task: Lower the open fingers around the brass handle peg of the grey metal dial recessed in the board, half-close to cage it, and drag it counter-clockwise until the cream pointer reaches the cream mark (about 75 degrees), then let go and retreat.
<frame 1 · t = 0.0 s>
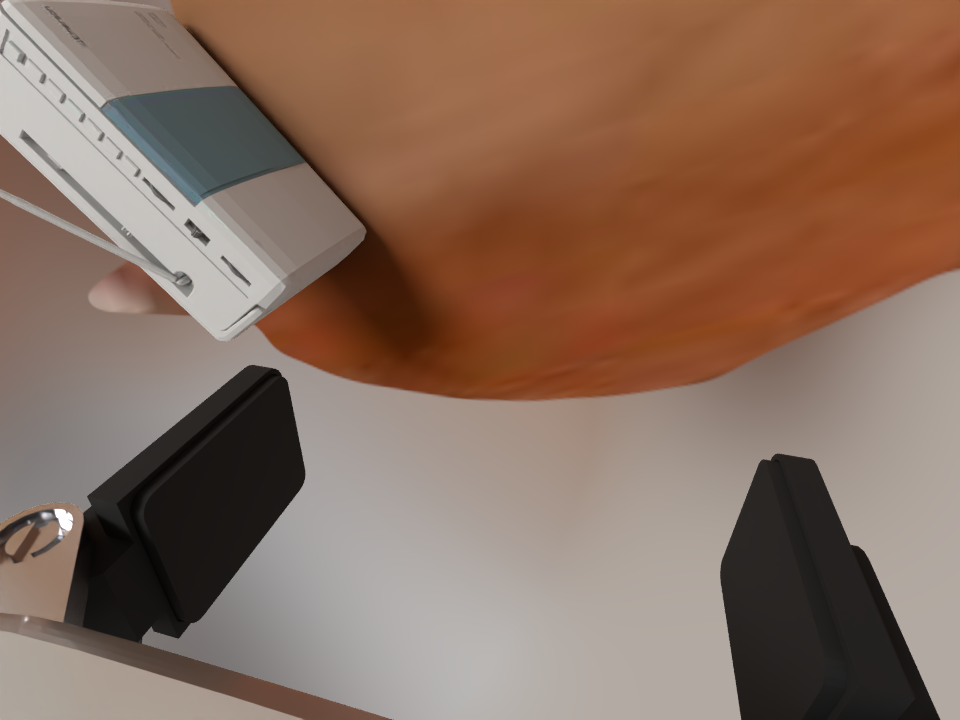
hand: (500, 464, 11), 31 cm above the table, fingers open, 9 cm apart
stereo radio cassette player: (259, 155, 43), on the table
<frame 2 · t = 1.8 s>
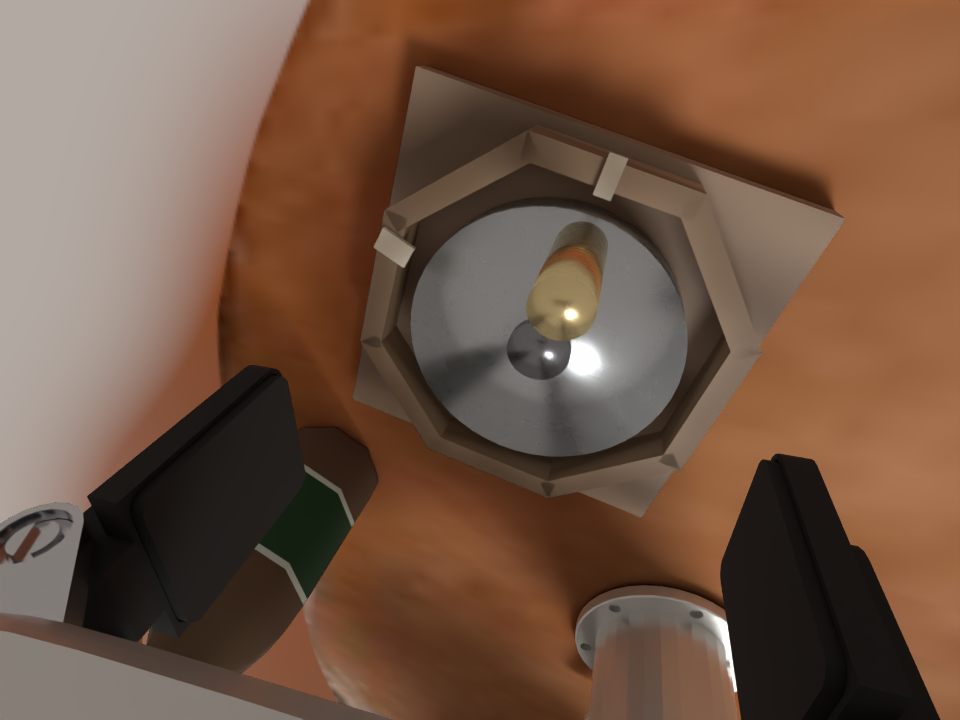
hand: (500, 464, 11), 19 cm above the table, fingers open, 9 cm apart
beer bottle: (335, 461, 41), on the table
dial housing: (550, 316, 30), on the table
dial: (531, 371, 25), point 6 cm above the table, hinge at 0.0°
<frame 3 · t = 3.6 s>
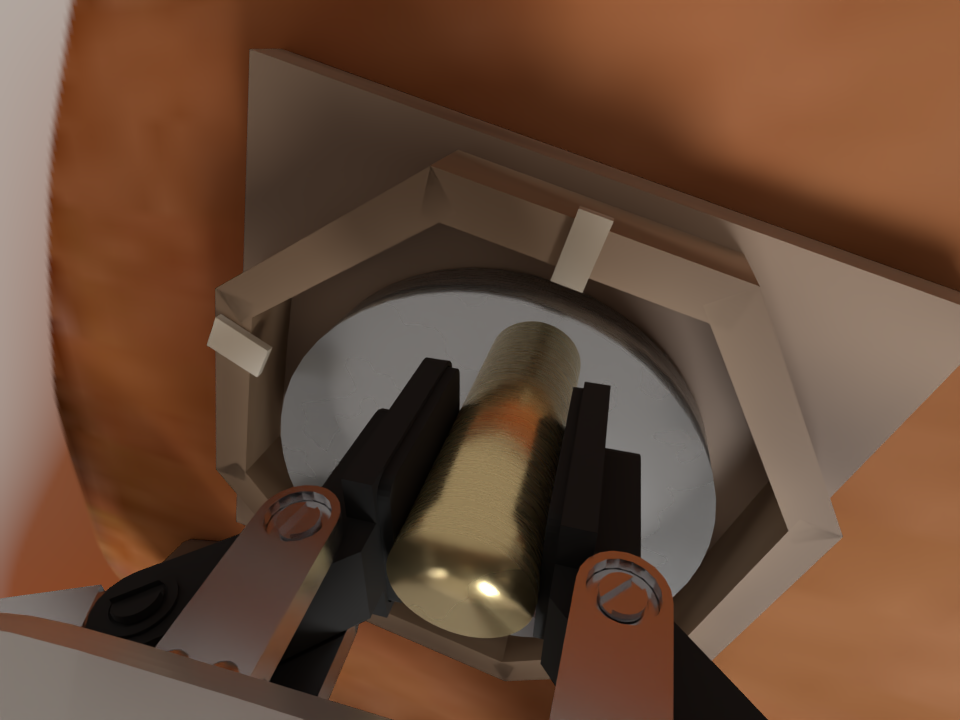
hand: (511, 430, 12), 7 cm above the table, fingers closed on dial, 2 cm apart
beer bottle: (236, 578, 31), on the table
dial housing: (503, 428, 20), on the table
dial: (456, 560, 15), point 6 cm above the table, hinge at 0.0°, touching gripper
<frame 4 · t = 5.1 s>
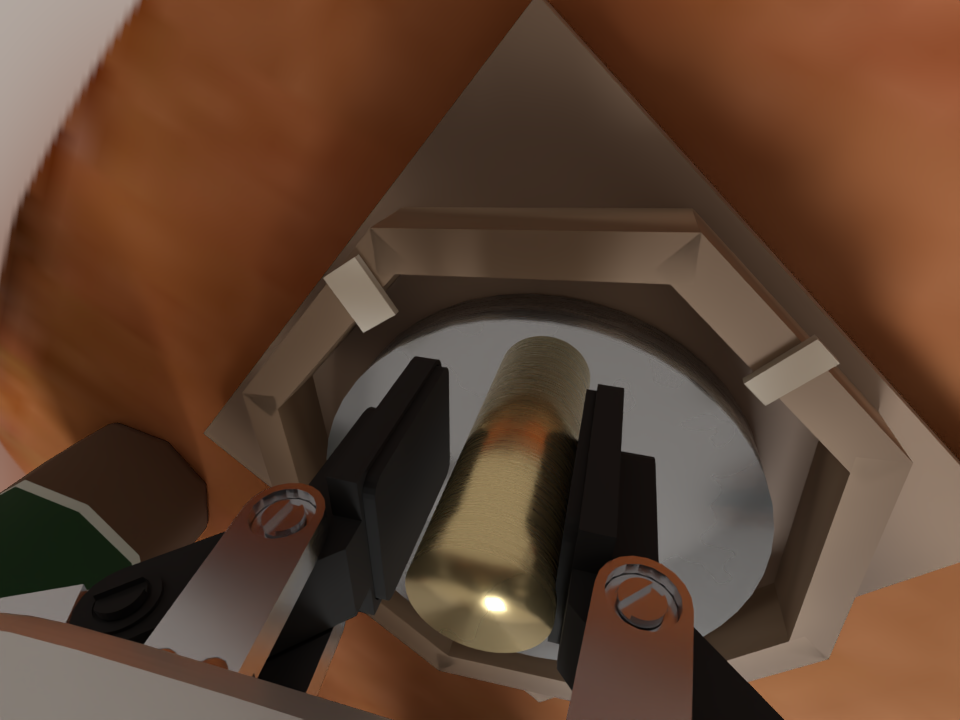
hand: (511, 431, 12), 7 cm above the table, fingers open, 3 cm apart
beer bottle: (152, 477, 28), on the table
dial housing: (544, 450, 20), on the table
dial: (511, 588, 15), point 6 cm above the table, hinge at 39.6°, touching gripper
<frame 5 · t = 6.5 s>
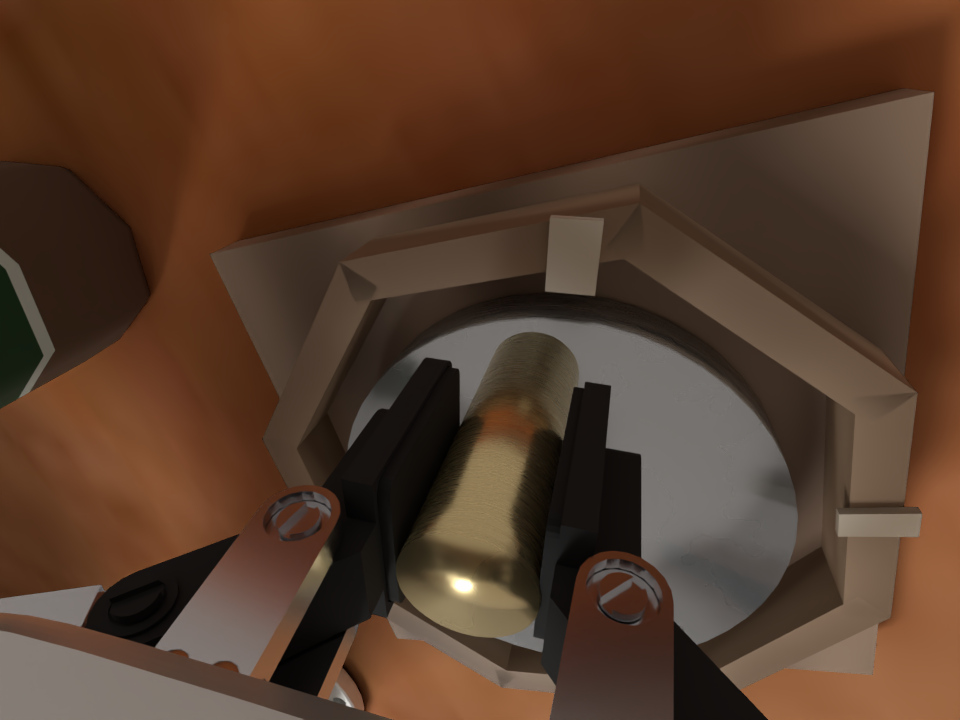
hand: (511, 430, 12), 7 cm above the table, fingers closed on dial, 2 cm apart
beer bottle: (75, 251, 22), on the table
dial housing: (562, 448, 20), on the table
dial: (537, 586, 15), point 6 cm above the table, hinge at 83.0°, touching gripper
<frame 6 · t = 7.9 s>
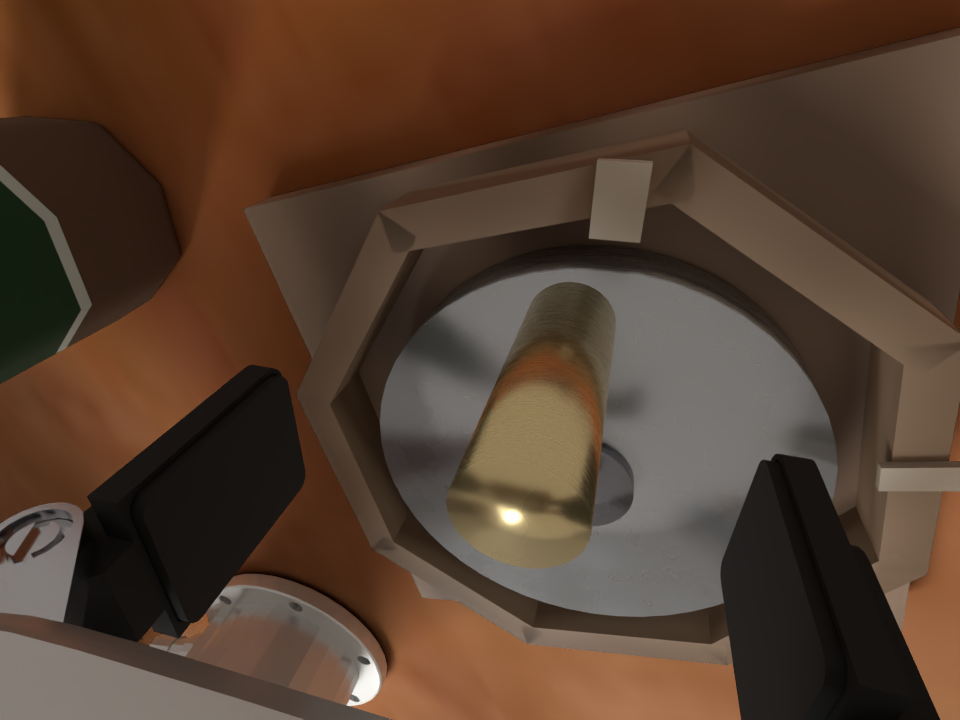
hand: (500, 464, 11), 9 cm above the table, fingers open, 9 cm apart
beer bottle: (106, 210, 22), on the table
dial housing: (592, 409, 20), on the table
dial: (572, 537, 15), point 6 cm above the table, hinge at 83.9°
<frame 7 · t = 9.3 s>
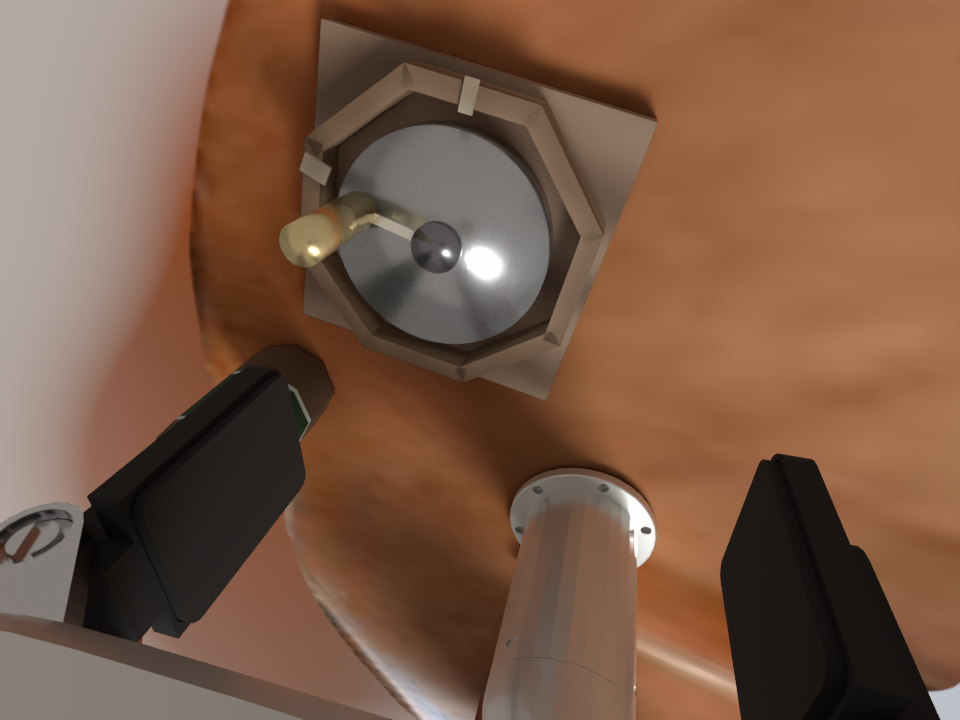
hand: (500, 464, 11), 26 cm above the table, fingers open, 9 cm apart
beer bottle: (298, 377, 48), on the table
dial housing: (455, 228, 36), on the table
dial: (424, 259, 31), point 6 cm above the table, hinge at 83.9°
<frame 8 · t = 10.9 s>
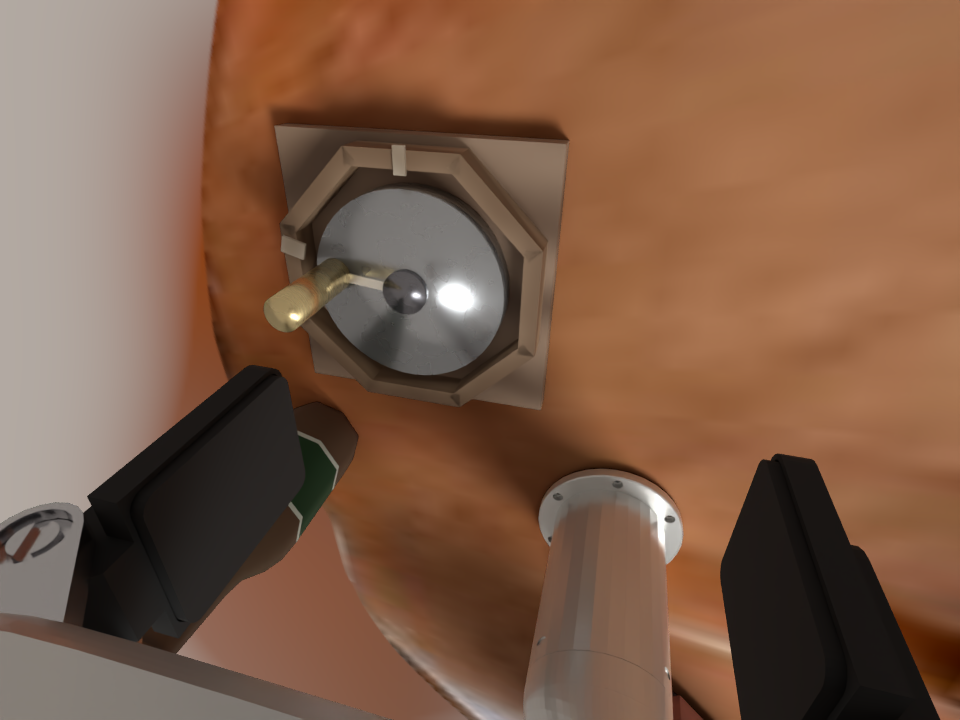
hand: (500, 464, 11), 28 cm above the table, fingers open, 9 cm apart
beer bottle: (326, 430, 52), on the table
dial housing: (424, 271, 41), on the table
dial: (393, 304, 36), point 6 cm above the table, hinge at 83.9°
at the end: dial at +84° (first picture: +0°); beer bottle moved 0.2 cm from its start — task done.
